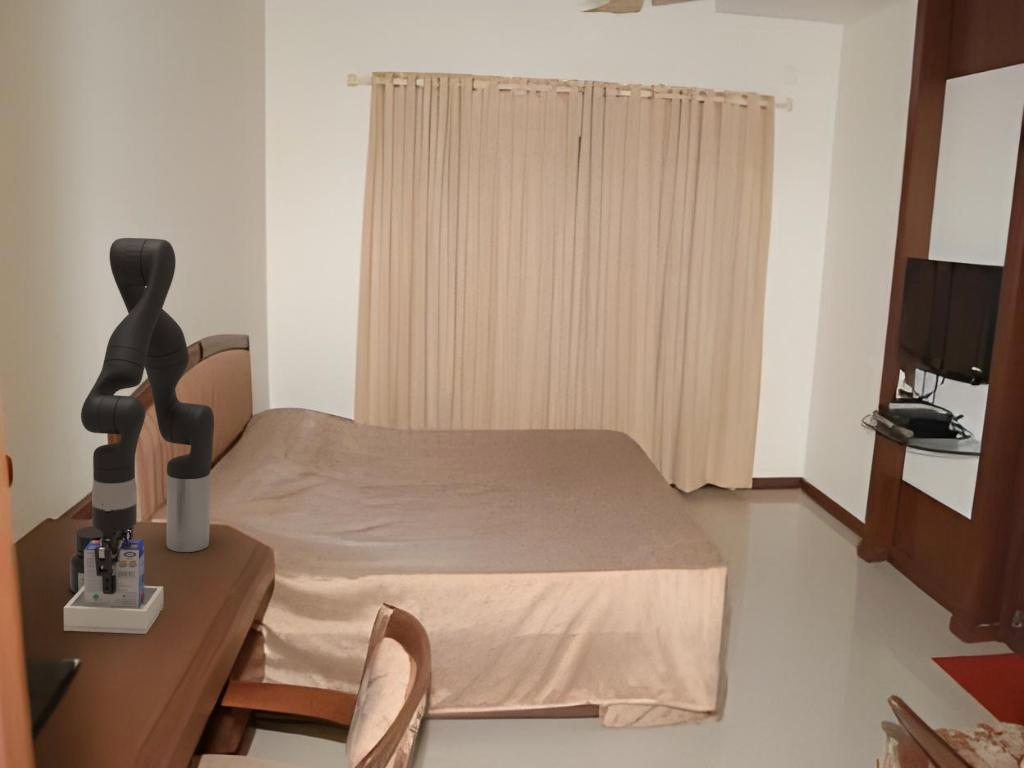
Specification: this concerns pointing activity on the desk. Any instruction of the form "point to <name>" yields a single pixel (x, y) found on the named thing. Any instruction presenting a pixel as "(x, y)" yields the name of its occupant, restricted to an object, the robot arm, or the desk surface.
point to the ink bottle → (81, 555)
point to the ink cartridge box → (126, 577)
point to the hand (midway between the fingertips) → (115, 585)
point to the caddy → (113, 614)
